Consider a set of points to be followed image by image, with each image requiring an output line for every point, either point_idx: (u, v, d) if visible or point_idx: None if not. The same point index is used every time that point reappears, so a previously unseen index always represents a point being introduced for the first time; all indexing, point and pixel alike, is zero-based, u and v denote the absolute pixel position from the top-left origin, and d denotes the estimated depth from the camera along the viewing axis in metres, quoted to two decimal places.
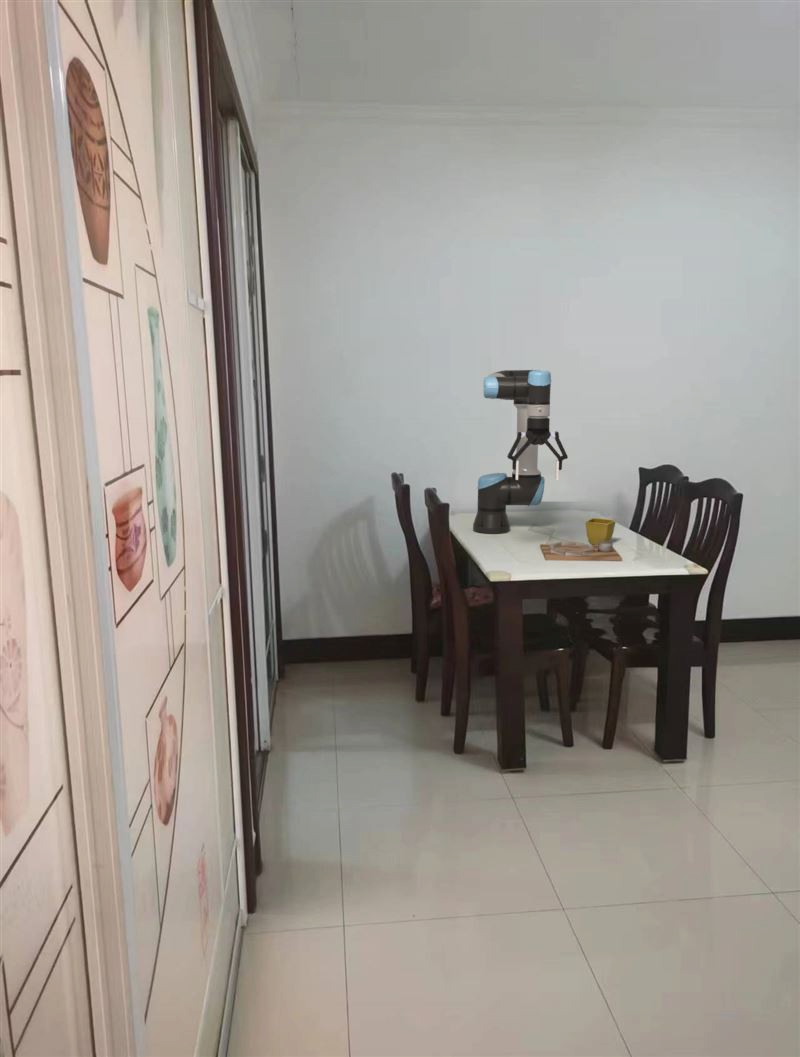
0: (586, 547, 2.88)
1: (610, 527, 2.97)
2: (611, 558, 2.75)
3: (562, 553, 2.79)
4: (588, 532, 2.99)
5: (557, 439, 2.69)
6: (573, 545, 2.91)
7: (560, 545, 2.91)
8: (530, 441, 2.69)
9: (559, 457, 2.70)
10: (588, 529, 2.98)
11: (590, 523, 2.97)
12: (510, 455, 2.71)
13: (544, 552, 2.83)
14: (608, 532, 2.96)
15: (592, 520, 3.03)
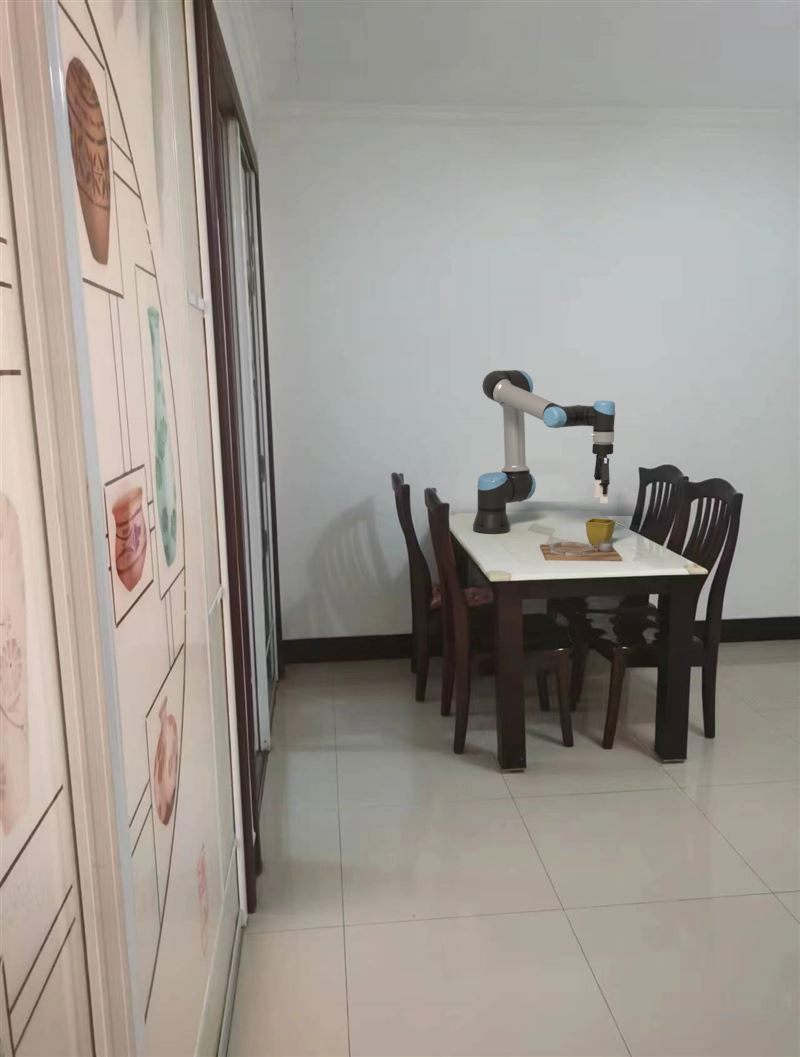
0: (586, 547, 2.88)
1: (610, 527, 2.97)
2: (611, 558, 2.75)
3: (562, 553, 2.79)
4: (588, 532, 2.99)
5: (601, 465, 2.88)
6: (573, 545, 2.91)
7: (560, 545, 2.91)
8: (596, 464, 2.97)
9: (601, 482, 2.89)
10: (588, 529, 2.98)
11: (590, 523, 2.97)
12: (594, 474, 3.05)
13: (544, 552, 2.83)
14: (608, 532, 2.96)
15: (592, 520, 3.03)
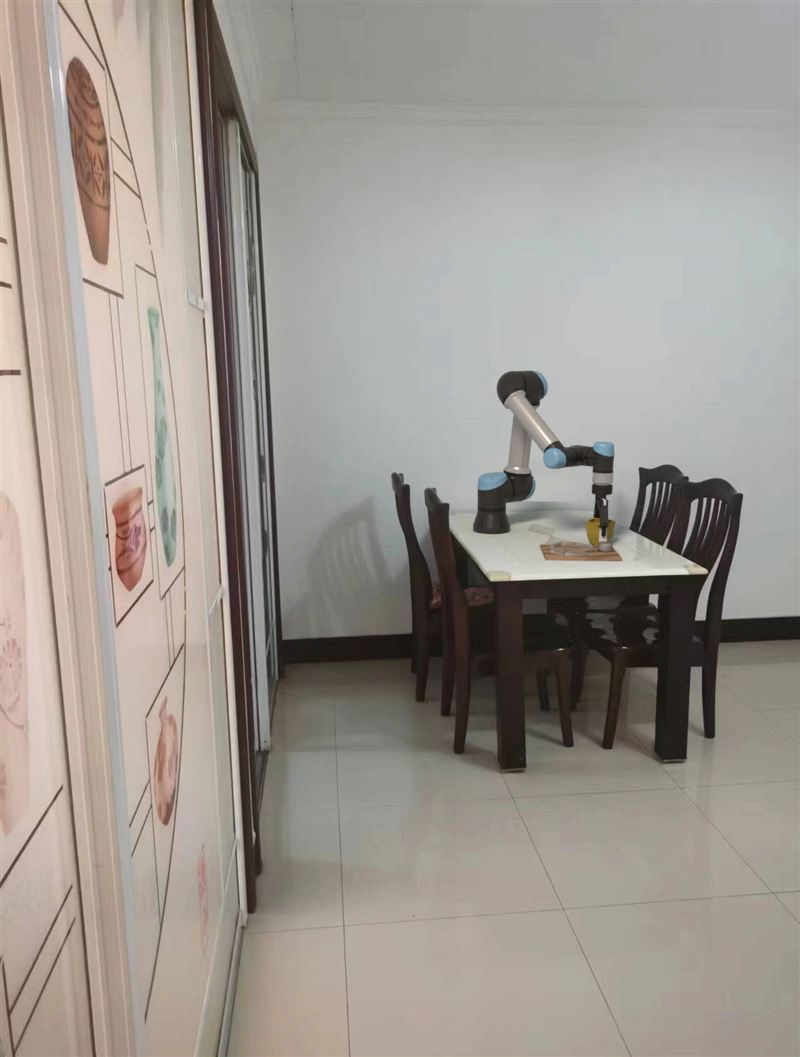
0: (586, 547, 2.88)
1: (610, 527, 2.97)
2: (611, 558, 2.75)
3: (562, 553, 2.79)
4: (588, 532, 2.99)
5: (601, 506, 2.92)
6: (573, 545, 2.91)
7: (560, 545, 2.91)
8: (595, 504, 3.01)
9: (600, 524, 2.93)
10: (588, 529, 2.98)
11: (590, 523, 2.97)
12: None
13: (544, 552, 2.83)
14: (608, 532, 2.96)
15: (592, 520, 3.03)
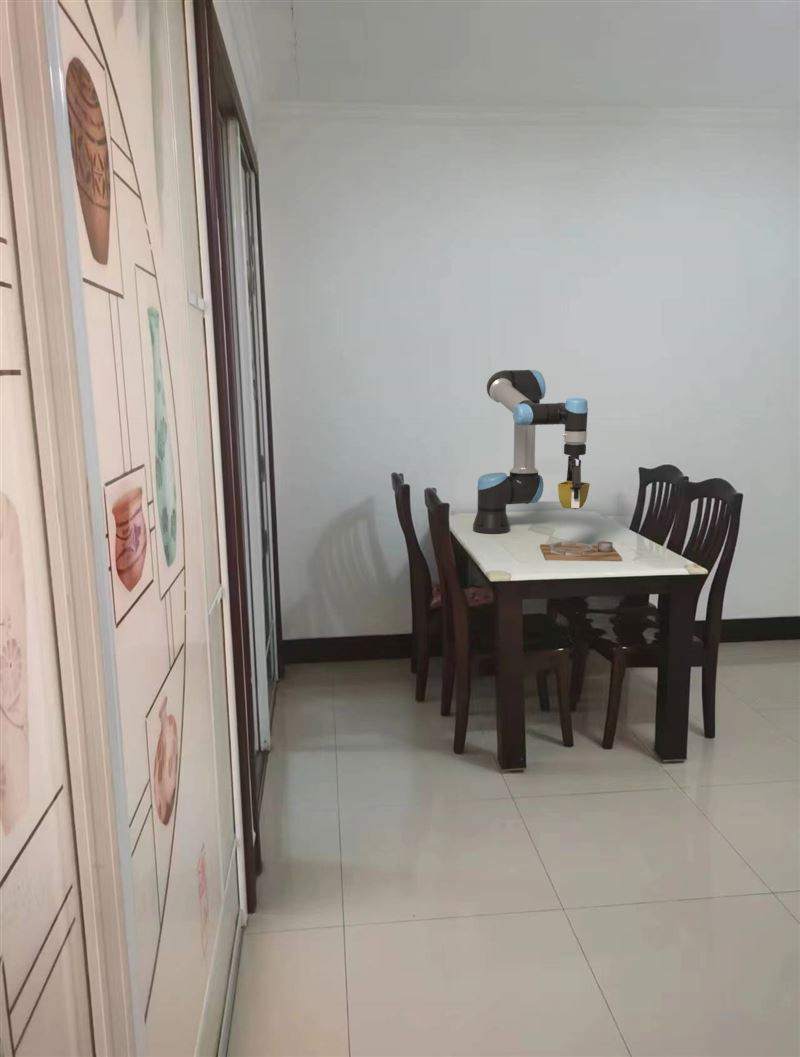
0: (586, 547, 2.88)
1: (584, 490, 2.78)
2: (611, 558, 2.75)
3: (562, 553, 2.79)
4: (560, 495, 2.80)
5: (573, 467, 2.73)
6: (573, 545, 2.91)
7: (560, 545, 2.91)
8: (568, 465, 2.82)
9: (572, 485, 2.74)
10: (560, 492, 2.80)
11: (562, 485, 2.78)
12: (567, 478, 2.89)
13: (544, 552, 2.83)
14: (581, 495, 2.77)
15: (565, 483, 2.84)
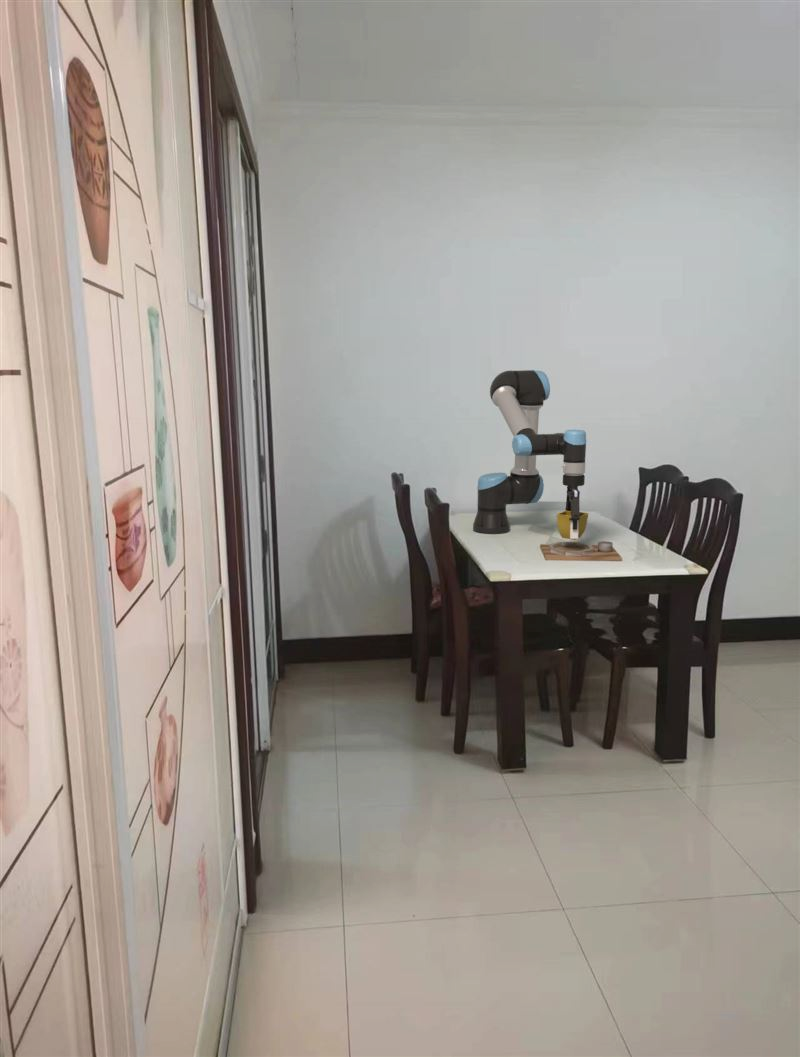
0: (586, 547, 2.88)
1: (582, 520, 2.80)
2: (611, 558, 2.75)
3: (562, 553, 2.79)
4: (559, 525, 2.82)
5: (572, 498, 2.75)
6: (573, 545, 2.91)
7: (560, 545, 2.91)
8: (567, 495, 2.84)
9: (571, 516, 2.76)
10: (559, 522, 2.82)
11: (561, 516, 2.80)
12: None
13: (544, 552, 2.83)
14: (580, 525, 2.79)
15: (564, 513, 2.87)
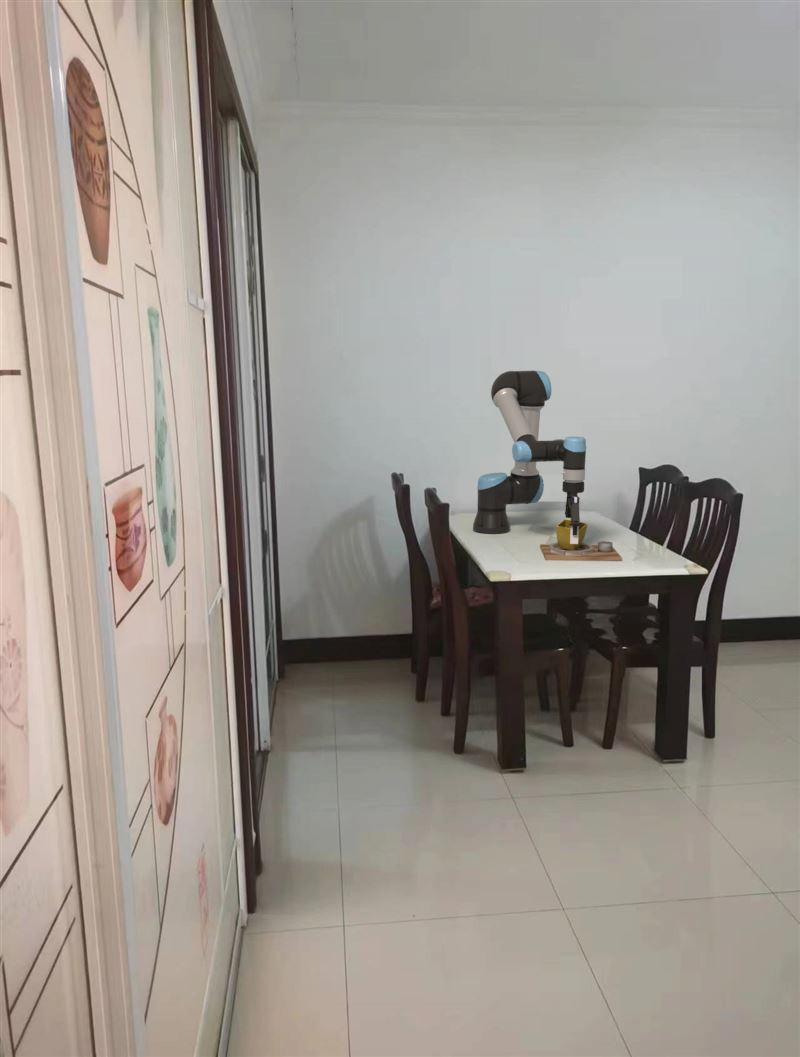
0: (586, 547, 2.88)
1: (581, 532, 2.82)
2: (611, 558, 2.75)
3: (562, 553, 2.79)
4: (558, 537, 2.84)
5: (571, 504, 2.76)
6: None
7: None
8: (566, 502, 2.85)
9: (571, 522, 2.76)
10: (558, 534, 2.83)
11: (561, 528, 2.82)
12: (565, 511, 2.92)
13: (544, 552, 2.83)
14: (579, 538, 2.81)
15: (563, 522, 2.88)
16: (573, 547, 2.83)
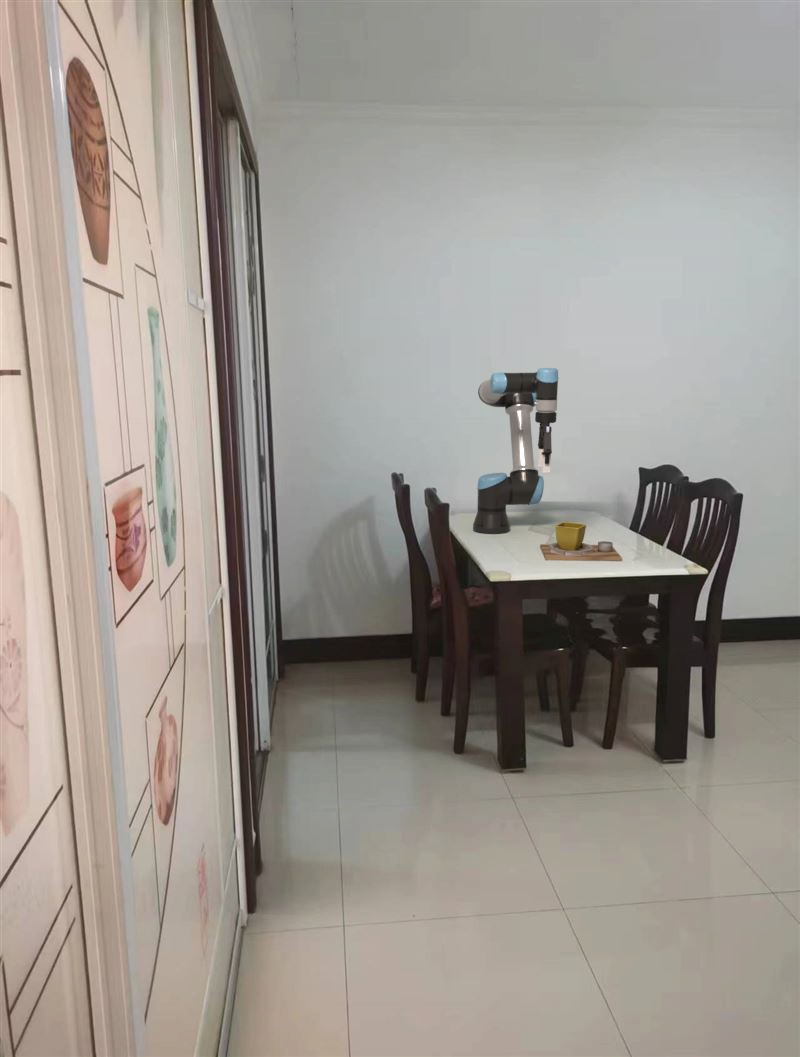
0: (586, 547, 2.88)
1: (581, 531, 2.83)
2: (611, 558, 2.75)
3: (562, 553, 2.79)
4: (558, 537, 2.85)
5: (544, 433, 2.84)
6: None
7: None
8: (539, 432, 2.93)
9: (543, 451, 2.84)
10: (558, 534, 2.84)
11: (560, 527, 2.83)
12: (538, 443, 3.00)
13: (544, 552, 2.83)
14: (579, 537, 2.82)
15: (562, 524, 2.89)
16: (573, 547, 2.83)
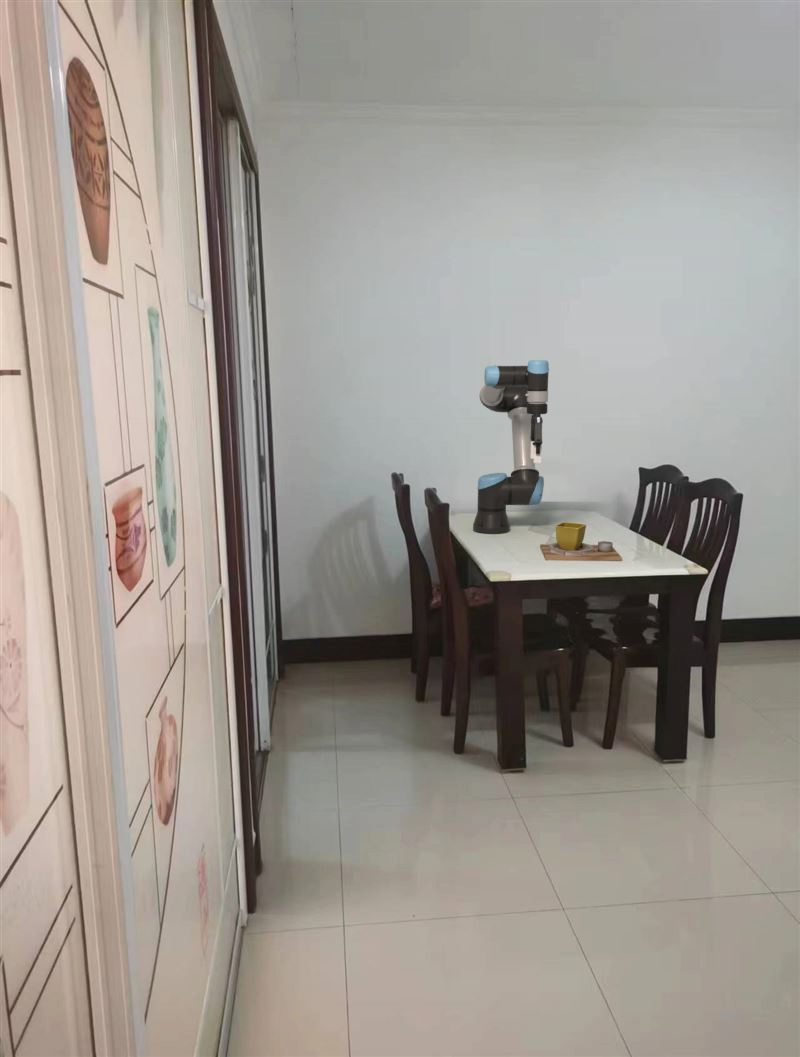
0: (586, 547, 2.88)
1: (581, 531, 2.83)
2: (611, 558, 2.75)
3: (562, 553, 2.79)
4: (558, 537, 2.85)
5: (534, 424, 2.87)
6: None
7: None
8: (531, 424, 2.96)
9: (534, 441, 2.87)
10: (558, 534, 2.84)
11: (560, 527, 2.83)
12: None
13: (544, 552, 2.83)
14: (579, 537, 2.82)
15: (562, 524, 2.89)
16: (573, 547, 2.83)
